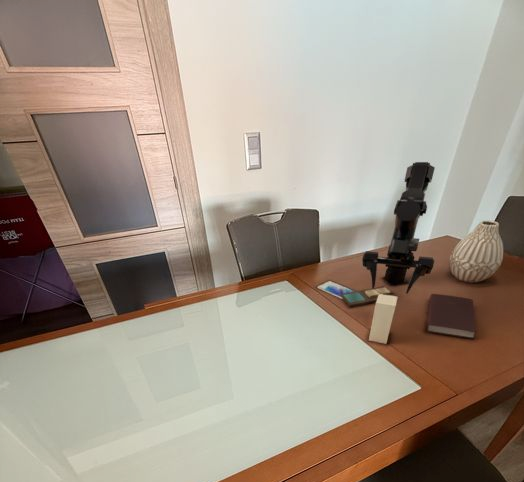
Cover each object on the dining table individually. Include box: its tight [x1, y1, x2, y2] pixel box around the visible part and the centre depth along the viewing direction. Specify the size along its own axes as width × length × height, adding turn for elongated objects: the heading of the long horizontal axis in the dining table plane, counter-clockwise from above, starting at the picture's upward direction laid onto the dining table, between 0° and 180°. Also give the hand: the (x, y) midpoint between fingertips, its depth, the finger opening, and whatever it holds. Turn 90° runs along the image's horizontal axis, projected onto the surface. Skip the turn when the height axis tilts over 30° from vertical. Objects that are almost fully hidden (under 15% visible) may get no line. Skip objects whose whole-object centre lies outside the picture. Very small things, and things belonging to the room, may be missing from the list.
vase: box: [448, 220, 505, 284], centre depth 108 cm, size 16×16×20 cm
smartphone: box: [317, 280, 356, 300], centre depth 113 cm, size 7×1×15 cm
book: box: [426, 293, 477, 339], centre depth 94 cm, size 12×19×3 cm, turn 155°
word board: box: [340, 285, 395, 308], centre depth 108 cm, size 17×8×2 cm, turn 102°
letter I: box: [368, 294, 399, 345], centre depth 87 cm, size 5×5×13 cm
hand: (389, 290), depth 87 cm, fingers open, 9 cm apart
